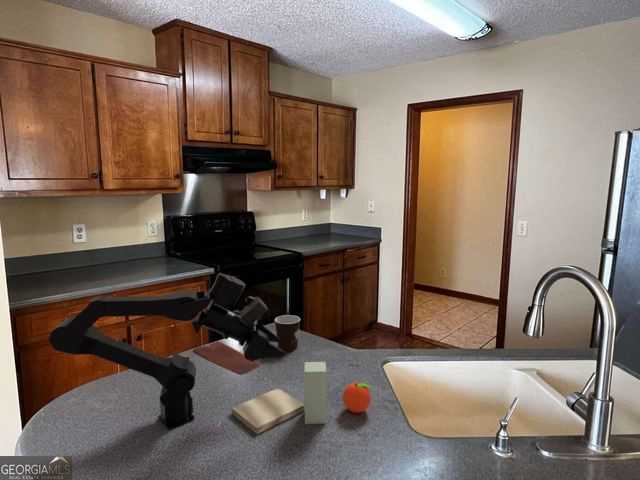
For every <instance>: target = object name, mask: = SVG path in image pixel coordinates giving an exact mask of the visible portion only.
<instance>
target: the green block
mask: <svg viewBox="0 0 640 480" xmlns="http://www.w3.org/2000/svg"><path fill="white" fill-rule="evenodd" d="M304 405H305V411H304V424H305V425H308V424H311V425H312V424H313V425H314V424H327V365H326V361H305V362H304Z"/></svg>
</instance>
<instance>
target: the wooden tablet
mask: <svg viewBox="0 0 640 480" xmlns="http://www.w3.org/2000/svg"><path fill="white" fill-rule="evenodd" d="M215 342H216V343H215ZM211 343H212V344H211ZM211 343H210V344H209V345H203V347H202V346H198V347H195V348H194V349H193V352H195V353H196V354H198V355H200V357H203V358H204V359H207V361H210V362H212V363H214V364H216V365H218V366H220V367H223V368H224V369H227V370H229V371H230V370H231V372H233V373H236V374H239V375H244V374H247V373H250V372H251V373H252V372H253V371H254V370H256V369H258V368H260V367H261V364H260V363H259V362H258V361H256V360H255V361H254V362H251V361H249V360H247V359H245V356H244V353H242V352H241V351H238V350H237V349H235V348H233V347H232V346H230V345H228V344H226V343H223V342H221V341H217V340H216V341H213V342H211Z"/></svg>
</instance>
